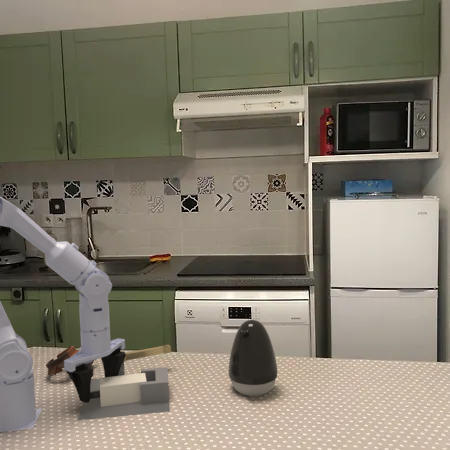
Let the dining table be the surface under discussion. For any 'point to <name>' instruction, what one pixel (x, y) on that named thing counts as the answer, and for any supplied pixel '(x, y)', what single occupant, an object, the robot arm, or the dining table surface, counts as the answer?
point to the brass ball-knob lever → (147, 352)
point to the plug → (119, 389)
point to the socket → (150, 402)
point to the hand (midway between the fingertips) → (98, 393)
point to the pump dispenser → (252, 360)
